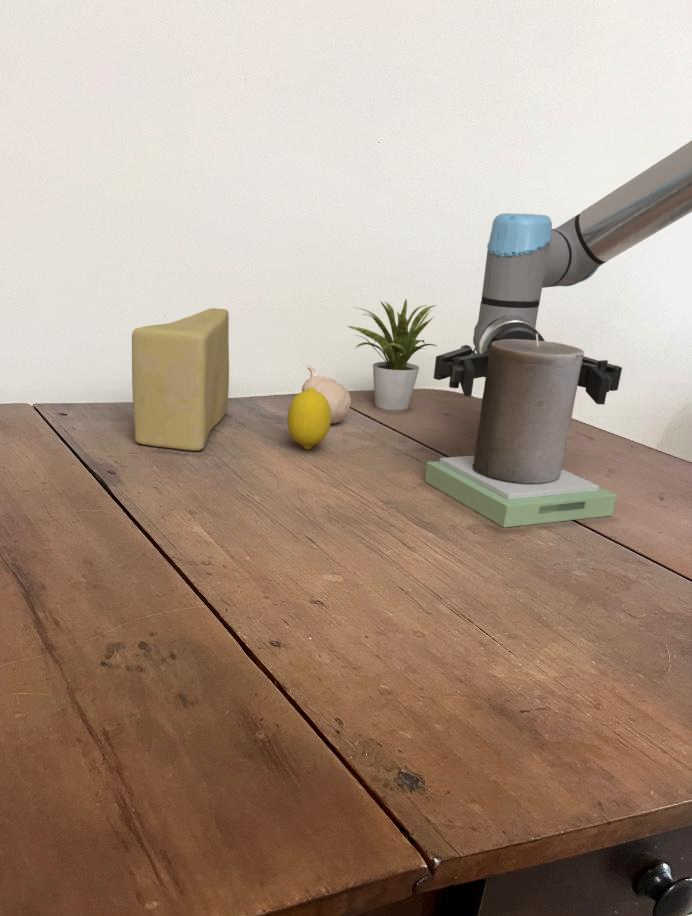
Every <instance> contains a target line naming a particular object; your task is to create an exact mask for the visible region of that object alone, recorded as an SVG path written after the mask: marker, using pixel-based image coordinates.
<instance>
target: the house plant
mask: <svg viewBox="0 0 692 916" xmlns="http://www.w3.org/2000/svg"><path fill="white" fill-rule="evenodd" d="M380 303H381V306H382V307H383V309H384V310H385V313H386V315H387V318H388V320H389V321H388V322H389V325H390V329H391V333H390V332H389V330H388V328H387V326H386V325H385V323H384V322H383V321H382V320H381V319H380V318H379V316H377V315H376V314H375V313H373V312H371V311H369V310H367V309H363V308H360V307H357V306H356V307H354V309H358V310H362V311H364V313H362V315H363V316H368V317H370V318H372V319H373V321H374V322H375V324H377V326H378V328H379V330H380V332H381V334H382V335H381V334H379V333H377V332H375V331H372V330H369V329H367V328H363V327H360V326H352V325H351V326H350V325H347V327H348V328H350V329H352V330H354V331H357V332H360V333H361V334H362V335H364V336H366V337H367V338H370V339H371V340H373V341H374V343H373V342H371V341H369V340H368V339H367V338H366V337H364V336H361V335H359V337H361V338H362V339H364V340H366V342H361V343H359V344H357V345H356V346H355V349H357V348H359V347H361V346H365V345H368V346H371V347H372V348H373V349H374V350H375V351H376V352H377V353H378V354H379V356H380V357H381V359H383V361H378V362H374V363H373V364H372V374H373V375H372V376H373V377H372V378H373V391H374V406H375V407H376V408H378V409H381V410H387V411H404V410H408V409H409V406H410V403H411V399H412V395H413V391H414V388H415V385H416V381H417V377H418V374H419V371H420V366H418V365H417V364H413V363H409V360H410V359H411V358H412V356H413V355H414V354H415V353H416V352H418V351H419V350H420V351H421V350H422V349H423V350H425V348H424V347H427V346H432V347H433V346H434V347H436V348H437V349H439V348H438V346H437V344H434V343H425V339H417V338H418V336H419V335H420V334H421V332H422V331H423V330H424V329H425V328H426V327H427V325H428V324H429V323H430V322H431V321H432V320H433V317H431V318H430V319H428V320H426V319H427V318H428V316H429V314H430V313H431V312H432V311H433V310H432V308H434V307H436V306H437V305H436V304H435V305H434V304H433V305H429V306H428V305H427V304H425V305H420V306H418V307H416V308H415V309H414V310H413V311H412V312H411V314H410V315H409V317H408V318H407V311H408V299H407V298H405V300H404V302H403V307H402V309H401V312H399V311H396V315H397V322H396V315H395V311H394V308H393V306H392V305H391V304H390V303H388V302H386V301H384V303H383V302H382V301H380ZM385 304H386V305H385ZM423 307H424V308H423ZM421 308H422V310H421V311H419V313H418V314H417V315H416V316H415V314H416V313H417V312H418V310H419V309H421ZM414 316H415V318H414V319H413V317H414ZM412 319H413V320H412ZM411 320H412V322H411ZM425 320H426V321H425ZM410 323H411V325H410ZM409 326H410V328H409ZM391 334H392V335H391ZM355 336H356V337H358V334H357V335H356V334H355ZM420 342H421V343H423V344H421V345H418V344H419V343H420ZM376 343H377V344H379V345H377V344H376ZM376 348H377V349H376ZM378 350H379V351H381V353H382V354H383V355H382V354H381V353H380V352H379V351H378Z"/></svg>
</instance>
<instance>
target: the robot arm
mask: <svg viewBox="0 0 692 916" xmlns="http://www.w3.org/2000/svg"><path fill="white" fill-rule="evenodd" d="M691 213H692V140H690V141H688V142H687V143H685V144H684V145H683V146H680V147H679V148H678V149H675V150H674V151H673V152H672V153H669V155H666V156H664V158H662V159H660V160H659V161H657V162H656V163H654V164H653V165H652V166H651V165H650V167H648V168H647V169H645V170H644V171H642V172H641V173H639V174H637V175H636V176H634V177H633V178H631V179H630V180H628V181H626V182H625V183H624V184H622V185H621V186H619V187H617V188H615V189H614V190H612V191H611V192H609V193H608V194H607V195H605V196H604V197H602V198H600V199H599V200H597V201H595V202H594V203H592V204H591V205H590V206H588V207H587V208H584V209H583V210H582V211H581V212H580V213H578V214H577V215H575V216H572V217H571V218H569V220H567V221H565V222H564V223H562V224H560V225H559V226H557V227H555V228H552V227H553V222H552V219H551V217H550V216H548V215H546V214H535V213H507V212H506V213H504V212H503V213H500V214H499V213H498V215H496V216H495V217H494V219H493V221H492V225H491V230H490V235H489V240H488V242H487V245H486V246H487V247H486V248H487V250H486V258H485V259H486V260H485V267H484V275H483V284H482V292H481V301H480V303H479V304H480V305H479V312H478V319H477V321H476V325H474V329H473V337H472V342H473V343H472V344H473V345H474V347H472V346H471V345H468V344H464V345H461V346H460V348H457V349H455V350H451V351H448V352H445V353H442V354H439V355H436V356H435V362H434V371H433V379H434V380H437V381H441V380H445V379H448V378H449V384H448V388H450V389H459V387H461V391H462V394H463V396H464V397H472V396H473V395H472V394H473V387H474V379H479V378H486V373H487V366H488V359H489V353H490V347H491V344H492V342H494V341H498V340H505V339H522V340H536V334H537V333H538V341H546V340H545V339H544V337H543V336H542V335H541V333H540V332H539V330H537V329H536V326H537V321H538V314H539V307H540V302H541V297H542V290H543V289H544V288H554V287H570V286H571V287H572V286H574V285H575V286H576V285H578V284H579V283H582V282H584V281H587V280H589V278H591V277H592V276H593V275H594V274H595V273H596V272H597V271H598V269H599V268H600V267H601V266H603V265H604V264H605V263H607V262H609V261H610V260H612V259H613V258H615V257H617V256H619V255H621V254H622V253H623V252H625V251H627V250H629V249H631V248H632V247H634V246H636V245H638V244H639V243H642V242H643V241H645V240H646V239H648V238H650V237H651V236H653V235H654V234H656V233H658V232H660V231H662V230H663V229H665V228H667V227H668V226H670V225H672V224H673V223H676V222H677V221H679V220H680V219H682V218H684V217H686V216H688V215H689V214H691ZM622 371H623V367H622V366H620V365H615V364H611V363H609V360H607V359H602V360H598V359H596V358H595V359H594V358H591V357H587V356H585V355H583V360H582V365H581V370H580V375H579V380H578V386H577V387H581V388H584V389H585V392H586V393H587V395H588V396H589V397H590V398H591V399H592V401H593V402H595V404H596V405H602V406H603V405H605V404H606V398H607V394H608V393H610V392H615V391H616V392H617V391H618V390H619V387H620V386H619V385H620V381H621V376H622Z"/></svg>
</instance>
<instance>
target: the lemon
mask: <svg viewBox="0 0 692 916" xmlns="http://www.w3.org/2000/svg"><path fill="white" fill-rule="evenodd" d="M287 413H288V414H287V419H286V420H287V429H288V432H289V435H290V436H291V438H292V439H293V440H294V441H295V442H296V443H298V444H300V445H301V446H302V448H304V450H311V449H312V448H313V446H315V445H318V444H319V443H321V442H323V440H325V438H326V437H327V435H328V433H329V432H330V428H331V424H332V423H331V412H330V407H329V403H328V401H327V399H326V398H325V397H324V396H323V395H322V394H321V393H319V392H317V391H315V389H314V388H308V389H307V390H306V391H303V392H302V391H301V392H298V394H296V395H295V396H294V397H293V398H292V401H291V402H290V405H289V409H288V412H287Z"/></svg>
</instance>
